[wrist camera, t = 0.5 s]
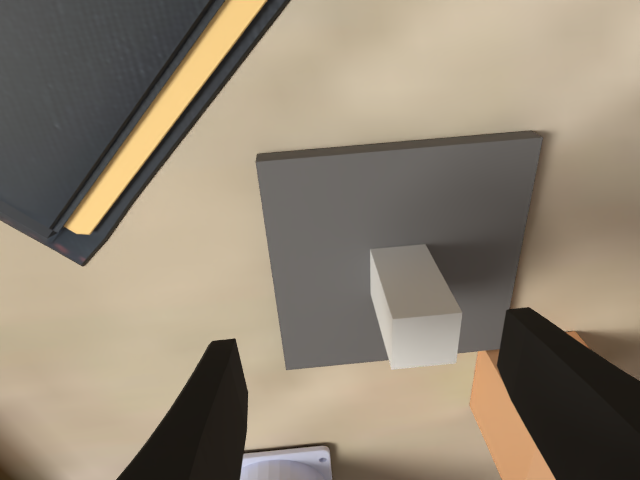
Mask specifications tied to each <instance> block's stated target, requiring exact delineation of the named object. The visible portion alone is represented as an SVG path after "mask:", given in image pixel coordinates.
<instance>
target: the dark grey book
mask: <svg viewBox="0 0 640 480" xmlns="http://www.w3.org/2000/svg"><path fill="white" fill-rule="evenodd" d="M289 1H290V0H0V220H1V221H3V222H4V223H6V224H8V225H10V226H11V227H13V228H15V229H17V230H18V231H20V232H22V233H24V234H26V235H27V236H29V237H31V238H33V239H35V240H37V241H38V242H40V243H42V244H44V245H46V246H48V247H49V248H51V249H53V250H55V251H56V252H58V253H60V254H62V255H63V256H65V257H67V258H69V259H70V260H72V261H74V262H76V263H77V264H79V265H81V266H84V265H85V264H86V263H87V262H88V261H89V259H90V258H91V257H92V256H93V255H94V254H95V253H96V252H97V250H98V249H99V248H100V247H101V246H102V245H103V244H104V243H105V241H106V240H107V239H108V238H109V236H110V235H111V233H112V232H113V230H114V229H115V228H116V226H117V225H118V223H119V222H120V220H121V219H122V218H123V216H124V215H125V213H126V212H127V210H128V209H129V208H130V206H131V205H132V203H133V202H134V201H135V199H136V198H137V197H138V195H139V194H140V193H141V192H142V190H143V189H144V188H145V186H146V185H147V184H148V183H149V181H150V180H151V179H152V177H153V176H154V175H155V174H156V172H157V171H158V170H159V168H160V167H161V166H162V164H163V163H164V162H165V161H166V159H167V158H168V157H169V155H170V154H171V153H172V152H173V150H174V149H175V148H176V146H177V145H178V144H179V143H180V141H181V140H182V139H183V137H184V136H185V135H186V134H187V132H188V131H189V130H190V128H191V127H192V126H193V125H194V123H195V122H196V121H197V119H198V118H199V117H200V115H201V114H202V113H203V112H204V110H205V109H206V108H207V106H208V105H209V104H210V103H211V101H212V100H213V99H214V97H215V96H216V95H217V94H218V92H219V91H220V90H221V88H222V87H223V86H224V85H225V83H226V82H227V81H228V79H229V78H230V77H231V75H232V74H233V73H234V72H235V70H236V69H237V68H238V66H239V65H240V64H241V63H242V61H243V60H244V59H245V57H246V56H247V55H248V54H249V52H250V51H251V50H252V48H253V47H254V46H255V45H256V43H257V42H258V41H259V39H260V38H261V37H262V35H263V34H264V33H265V32H266V30H267V29H268V28H269V26H270V25H271V24H272V23H273V21H274V20H275V19H276V17H277V16H278V15H279V14H280V12H281V11H282V10H283V8H284V7H285V6H286V5H287V3H288V2H289Z"/></svg>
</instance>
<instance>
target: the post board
mask: <svg viewBox="0 0 640 480" xmlns="http://www.w3.org/2000/svg"><path fill="white" fill-rule="evenodd" d="M542 140H543V137H541V136H540V135H538V134H536V133H535V132H533V131H521V132H510V133H498V134H486V135H474V136H463V137H451V138H439V139H427V140H416V141H404V142H392V143H380V144H369V145H357V146H345V147H334V148H322V149H310V150H298V151H287V152H275V153H263V154H257V157H256V168H257V174H258V181H259V188H260V195H261V202H262V209H263V215H264V222H265V229H266V236H267V243H268V250H269V256H270V263H271V270H272V277H273V284H274V290H275V297H276V304H277V311H278V318H279V325H280V331H281V338H282V345H283V352H284V359H285V366H286V370H292V369H302V368H313V367H323V366H333V365H343V364H354V363H364V362H374V361H384V360H389V362H390V366H391V369H392V370H393V369H403V368H413V367H423V366H433V365H443V364H454V363H456V360H457V353H466V352H476V351H486V350H497V349H500V343H501V338H502V332H503V326H504V320H505V314H506V310H508V309H509V308H510V303H511V298H512V293H513V288H514V283H515V278H516V273H517V268H518V262H519V257H520V252H521V247H522V242H523V237H524V232H525V227H526V222H527V216H528V211H529V206H530V201H531V196H532V191H533V186H534V181H535V176H536V170H537V165H538V160H539V155H540V150H541V145H542Z"/></svg>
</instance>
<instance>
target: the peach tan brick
mask: <svg viewBox="0 0 640 480" xmlns="http://www.w3.org/2000/svg"><path fill="white" fill-rule="evenodd" d="M566 333H567V334H569V335H570V336H572V337H573V338H574V339H576V340H577V341H579V342H580V343H582V344H583V345H585V346H586V347H587V348H589V347H588V346H587V345H586V344H585V342H584V341H583V340H582V339H581V338H580V336H579V335H578V334H577V333H576V332H575V331H572V332H566ZM589 349H590V348H589ZM498 355H499V349H497V350H486V351H478V356H477V362H476V369H475V375H474V381H473V387H472V394H471V400H470V408H471V410H472V412H473V414H474V417H475V419H476V421H477V424H478V426H479V428H480V430H481V433H482V435H483V437H484V439H485V442H486V444H487V446H488V449H489V451H490V453H491V455H492V458H493V460H494V462H495V464H496V467H497V469H498V471H499V474H500V476H501V478H502V480H556V479H555V478H554V476H553V474H552V472H551V471H550V469H549V467H548V465H547V463H546V462H545V460H544V458H543V456H542V455H541V453H540V451H539V449H538V448H537V446H536V444H535V442H534V441H533V439H532V437H531V435H530V434H529V432H528V430H527V428H526V427H525V425H524V423H523V421H522V420H521V418H520V416H519V414H518V412H517V411H516V409H515V407H514V405H513V403H512V401H511V399H510V397H509V395H508V392H507V390H506V388H505V385H504V383H503V380H502V378H501V375H500V373H499V370H498V368H497V361H498Z"/></svg>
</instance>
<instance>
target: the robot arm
mask: <svg viewBox="0 0 640 480" xmlns="http://www.w3.org/2000/svg"><path fill="white" fill-rule="evenodd" d="M497 368H498V370H499V373H500V375H501V378H502V380H503V383H504V385H505V388H506V390H507V392H508V395H509V397H510V399H511V401H512V403H513V405H514V407H515V409H516V411H517V412H518V414H519V416H520V418H521V420H522V421H523V423H524V425H525V427H526V428H527V430H528V432H529V434H530V435H531V437H532V439H533V441H534V442H535V444H536V446H537V448H538V449H539V451H540V453H541V455H542V456H543V458H544V460H545V462H546V463H547V465H548V467H549V469H550V471H551V472H552V474H553V476H554V478H555V479H556V480H640V381H639V380H637V379H635V378H634V377H632V376H630V375H629V374H627V373H625V372H624V371H622V370H621V369H619V368H618V367H616V366H615V365H613V364H611V363H610V362H608V361H607V360H605V359H604V358H602V357H601V356H599V355H598V354H596V353H595V352H593V351H592V350H590V349H589V348H587V347H586V346H585V345H583V344H582V343H580V342H579V341H577V340H576V339H574V338H573V337H572V336H570V335H569V334H567V333H566V332H564V331H563V330H561V329H560V328H559V327H557V326H556V325H554V324H553V323H551V322H550V321H549V320H547V319H546V318H544V317H543V316H541V315H540V314H538V313H537V312H535V311H534V310H532V309H531V308H529V307H527V308H518V309H508V310H506V314H505V320H504V326H503V332H502V338H501V343H500V349H499V355H498V361H497ZM247 413H248V390H247V386H246V382H245V378H244V373H243V369H242V365H241V360H240V356H239V352H238V348H237V343H236V339H227V340H217V341H212V342H211V343H210V344H209V345H208V347H207V349H206V351H205V353H204V354H203V356H202V358H201V360H200V361H199V363H198V365H197V367H196V368H195V370H194V372H193V373H192V375H191V377H190V378H189V380H188V382H187V383H186V385H185V386H184V388H183V390H182V391H181V393H180V394H179V396H178V397H177V399H176V400H175V402H174V404H173V405H172V407H171V408H170V410H169V411H168V413H167V414H166V416H165V417H164V418H163V420H162V421H161V422H160V424H159V425H158V427H157V428H156V429H155V431H154V432H153V434H152V435H151V436H150V438H149V439H148V441H147V442H146V443H145V445H144V446H143V447H142V448H141V450H140V451H139V452H138V454H137V455H136V456H135V457H134V459H133V460H132V461H131V462H130V464H129V465H128V466H127V467H126V469H125V470H124V471H123V472H122V473H121V475H120V476H119V477H118V478H117V479H116V480H332V471H331V459H330V450H329V448H328V447H327V446H314V447H304V448H294V449H285V450H275V451H265V452H255V453H245V454H244V447H245V440H246V433H247Z"/></svg>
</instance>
